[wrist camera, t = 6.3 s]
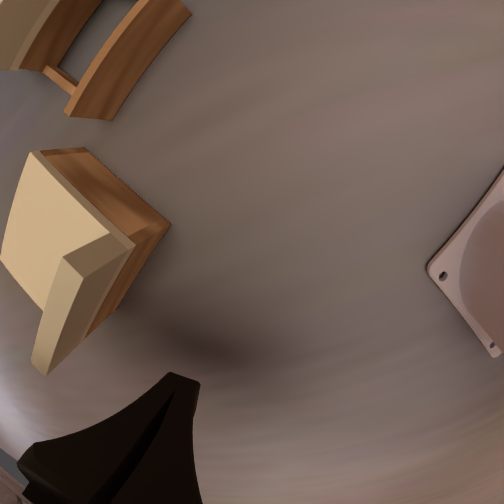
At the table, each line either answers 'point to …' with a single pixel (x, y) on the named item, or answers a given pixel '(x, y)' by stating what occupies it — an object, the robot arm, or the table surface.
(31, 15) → the lid
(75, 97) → the crates
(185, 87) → the table surface
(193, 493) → the robot arm
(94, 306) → the lid
